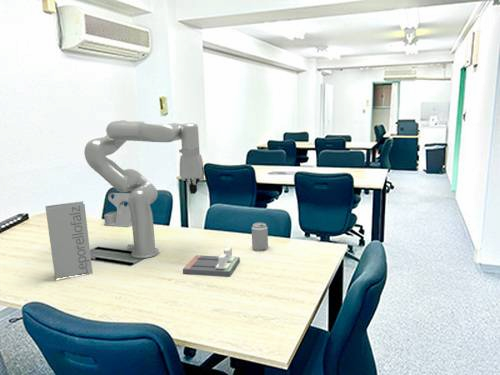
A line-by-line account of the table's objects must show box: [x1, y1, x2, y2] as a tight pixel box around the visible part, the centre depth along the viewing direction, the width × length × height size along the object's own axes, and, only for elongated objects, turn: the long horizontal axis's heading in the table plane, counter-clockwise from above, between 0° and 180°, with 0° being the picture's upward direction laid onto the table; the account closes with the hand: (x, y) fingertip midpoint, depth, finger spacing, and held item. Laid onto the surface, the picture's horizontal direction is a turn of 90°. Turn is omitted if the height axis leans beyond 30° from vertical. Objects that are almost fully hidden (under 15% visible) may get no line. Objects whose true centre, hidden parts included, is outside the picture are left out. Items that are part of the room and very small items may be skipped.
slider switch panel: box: [182, 254, 241, 277], centre depth 177 cm, size 20×16×2 cm
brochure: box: [45, 200, 94, 279], centre depth 171 cm, size 14×6×30 cm, turn 117°
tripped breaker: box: [215, 253, 231, 270], centre depth 171 cm, size 5×5×5 cm
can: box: [251, 222, 269, 252], centre depth 196 cm, size 8×8×12 cm
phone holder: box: [104, 192, 132, 228], centre depth 246 cm, size 17×10×18 cm, turn 73°
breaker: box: [223, 246, 236, 262], centre depth 178 cm, size 5×5×5 cm
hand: (193, 193), depth 186 cm, fingers closed
